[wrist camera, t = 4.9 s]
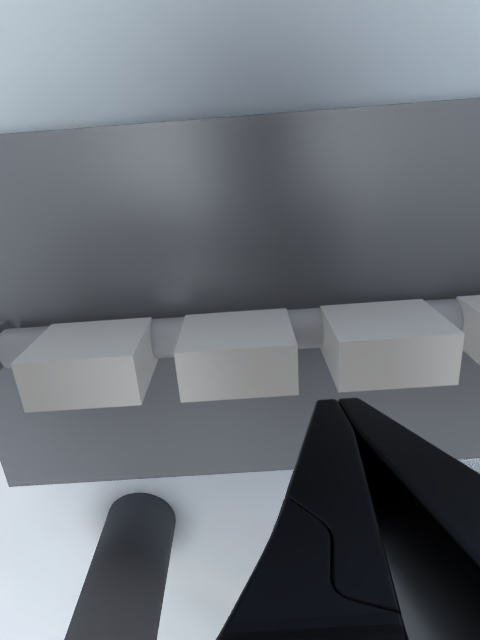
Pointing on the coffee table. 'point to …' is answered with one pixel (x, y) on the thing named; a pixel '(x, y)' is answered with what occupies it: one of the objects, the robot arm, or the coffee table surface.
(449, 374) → the breaker paddles
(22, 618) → the coffee table surface
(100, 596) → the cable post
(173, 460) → the breaker panel
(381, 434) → the robot arm
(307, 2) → the coffee table surface
